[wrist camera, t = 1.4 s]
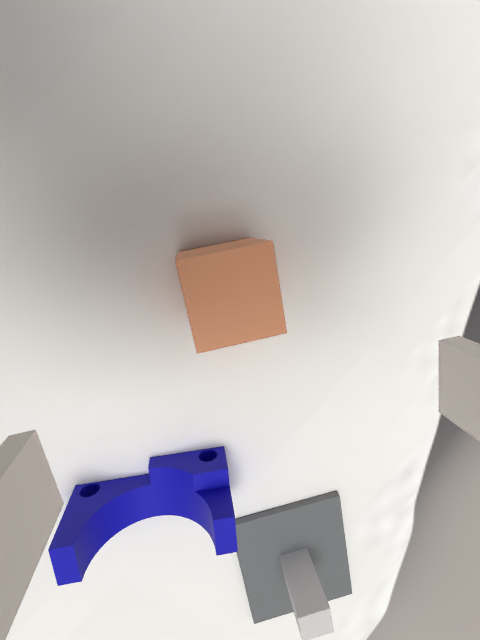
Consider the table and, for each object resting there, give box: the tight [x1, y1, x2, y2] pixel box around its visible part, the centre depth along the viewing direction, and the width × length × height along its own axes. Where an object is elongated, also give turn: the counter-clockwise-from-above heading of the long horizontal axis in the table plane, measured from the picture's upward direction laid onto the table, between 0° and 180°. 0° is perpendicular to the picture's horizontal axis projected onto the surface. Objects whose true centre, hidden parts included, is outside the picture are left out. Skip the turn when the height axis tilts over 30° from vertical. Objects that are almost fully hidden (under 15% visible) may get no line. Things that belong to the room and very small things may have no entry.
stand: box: [235, 491, 352, 640], centre depth 30 cm, size 12×10×6 cm
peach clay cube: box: [175, 238, 287, 353], centre depth 22 cm, size 5×5×7 cm
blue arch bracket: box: [48, 446, 238, 586], centre depth 26 cm, size 12×4×6 cm, turn 94°
